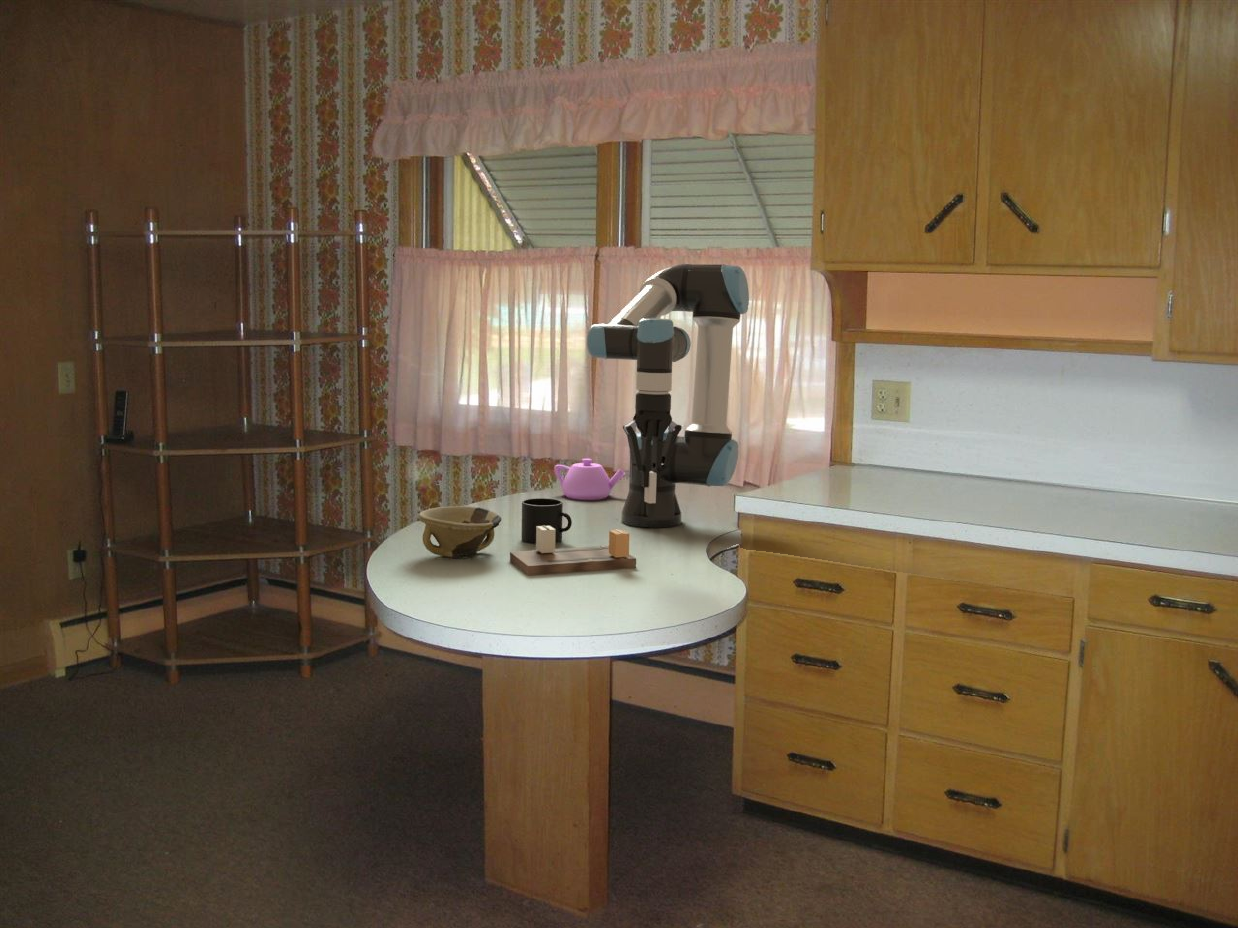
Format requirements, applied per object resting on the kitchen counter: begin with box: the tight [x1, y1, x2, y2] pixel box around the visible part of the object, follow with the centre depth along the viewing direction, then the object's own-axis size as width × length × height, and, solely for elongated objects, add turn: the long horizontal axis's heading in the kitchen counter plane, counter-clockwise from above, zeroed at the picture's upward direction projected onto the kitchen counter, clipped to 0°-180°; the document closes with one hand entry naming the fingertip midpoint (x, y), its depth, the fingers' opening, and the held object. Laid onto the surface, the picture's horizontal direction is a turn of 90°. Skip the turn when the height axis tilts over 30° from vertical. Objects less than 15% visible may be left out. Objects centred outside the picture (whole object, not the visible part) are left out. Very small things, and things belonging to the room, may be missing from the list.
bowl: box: [418, 505, 502, 559], centre depth 263 cm, size 18×18×10 cm
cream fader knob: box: [535, 525, 556, 553], centre depth 259 cm, size 3×4×5 cm
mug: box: [520, 497, 573, 545], centre depth 280 cm, size 9×12×9 cm
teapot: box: [553, 458, 626, 501], centre depth 336 cm, size 14×20×11 cm
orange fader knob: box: [608, 528, 630, 557], centre depth 257 cm, size 3×4×5 cm
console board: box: [509, 545, 637, 576], centre depth 258 cm, size 24×13×2 cm, turn 112°
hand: (649, 502), depth 258 cm, fingers closed
